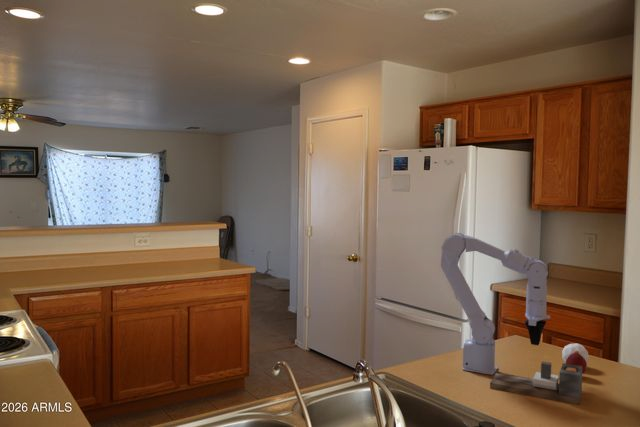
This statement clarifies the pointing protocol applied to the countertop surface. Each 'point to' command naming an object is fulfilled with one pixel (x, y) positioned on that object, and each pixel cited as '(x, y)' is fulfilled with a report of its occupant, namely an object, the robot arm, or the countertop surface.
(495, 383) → the rail bed
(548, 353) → the countertop surface
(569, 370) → the brown egg
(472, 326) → the robot arm
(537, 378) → the carriage
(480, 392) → the countertop surface
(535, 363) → the countertop surface
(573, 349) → the ball
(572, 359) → the onion
